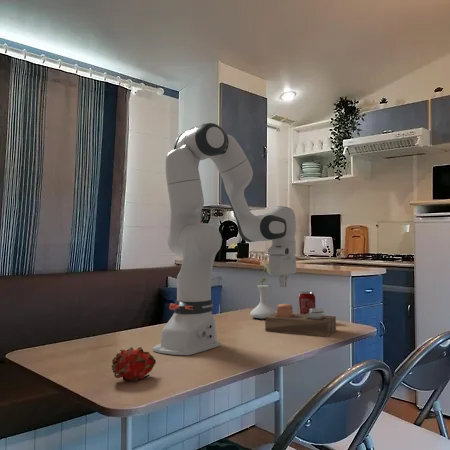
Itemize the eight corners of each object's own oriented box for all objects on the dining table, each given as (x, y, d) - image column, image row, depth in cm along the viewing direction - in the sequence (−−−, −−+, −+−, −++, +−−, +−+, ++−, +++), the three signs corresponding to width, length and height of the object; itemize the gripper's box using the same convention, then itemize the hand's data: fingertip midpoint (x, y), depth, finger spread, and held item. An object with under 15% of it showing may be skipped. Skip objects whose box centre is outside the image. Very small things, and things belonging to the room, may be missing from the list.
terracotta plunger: (289, 325, 163) (289, 306, 163) (276, 324, 166) (275, 305, 166) (294, 322, 168) (293, 304, 168) (281, 321, 170) (280, 303, 170)
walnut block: (327, 336, 153) (327, 321, 153) (265, 331, 164) (265, 317, 164) (335, 330, 164) (335, 316, 164) (277, 325, 174) (276, 312, 175)
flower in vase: (274, 320, 184) (273, 260, 185) (247, 319, 187) (247, 260, 188) (278, 315, 197) (277, 259, 198) (253, 314, 200) (252, 259, 201)
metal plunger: (321, 330, 158) (321, 310, 158) (307, 329, 160) (307, 309, 160) (325, 327, 162) (325, 308, 162) (311, 326, 165) (311, 307, 165)
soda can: (317, 323, 178) (316, 293, 178) (300, 323, 178) (299, 293, 178) (314, 320, 184) (313, 291, 185) (297, 320, 185) (297, 291, 185)
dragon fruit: (106, 390, 105) (151, 387, 112) (121, 375, 100) (167, 373, 107) (102, 356, 110) (145, 356, 117) (116, 340, 105) (160, 340, 112)
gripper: (285, 249, 178) (284, 284, 177) (265, 249, 160) (265, 288, 159) (300, 250, 175) (300, 285, 175) (282, 250, 157) (282, 289, 156)
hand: (283, 286), depth 167 cm, fingers closed
